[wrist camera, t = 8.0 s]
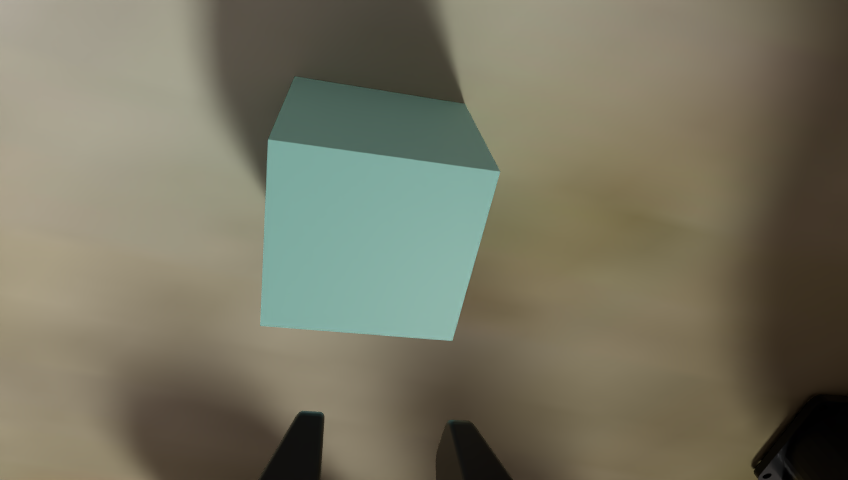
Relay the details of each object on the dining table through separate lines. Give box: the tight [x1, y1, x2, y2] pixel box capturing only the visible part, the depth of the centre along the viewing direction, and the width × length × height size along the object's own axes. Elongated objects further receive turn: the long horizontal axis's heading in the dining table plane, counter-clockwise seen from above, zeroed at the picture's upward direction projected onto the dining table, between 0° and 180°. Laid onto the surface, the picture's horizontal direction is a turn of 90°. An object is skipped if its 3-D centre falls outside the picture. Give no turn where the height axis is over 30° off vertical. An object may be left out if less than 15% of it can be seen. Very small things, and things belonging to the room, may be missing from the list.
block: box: [260, 77, 500, 341], centre depth 16 cm, size 6×6×6 cm
